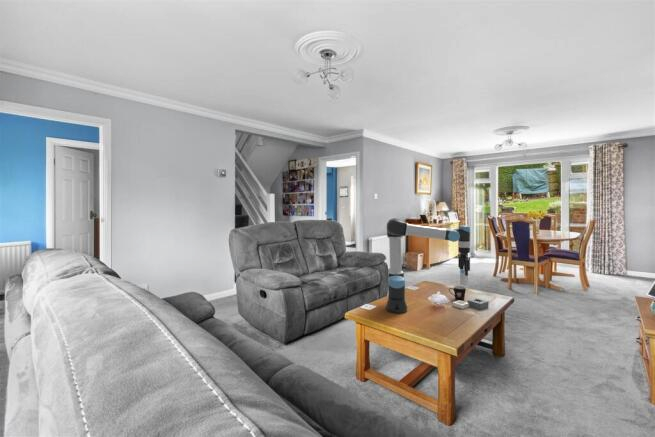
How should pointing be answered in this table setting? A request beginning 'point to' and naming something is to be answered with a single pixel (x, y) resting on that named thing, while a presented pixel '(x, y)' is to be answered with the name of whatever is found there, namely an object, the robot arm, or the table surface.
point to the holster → (460, 304)
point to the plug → (463, 278)
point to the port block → (478, 303)
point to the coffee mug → (459, 292)
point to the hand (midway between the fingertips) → (463, 278)
